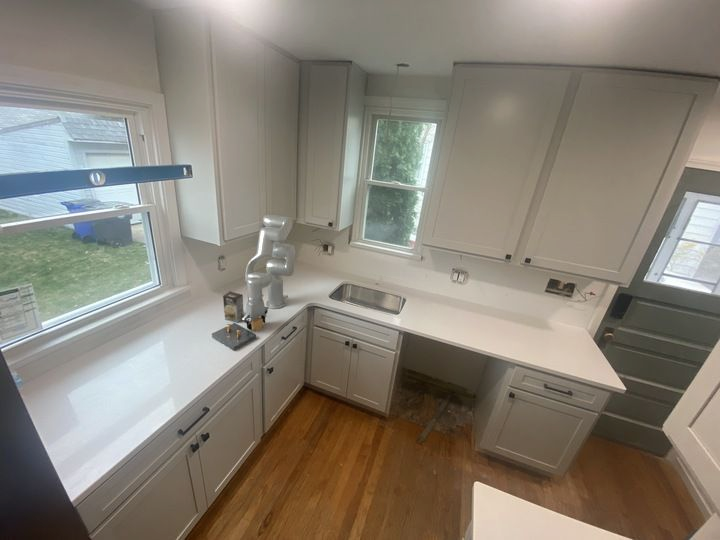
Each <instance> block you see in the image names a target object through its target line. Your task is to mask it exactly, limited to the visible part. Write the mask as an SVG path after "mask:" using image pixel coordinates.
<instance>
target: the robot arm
mask: <svg viewBox="0 0 720 540" xmlns="http://www.w3.org/2000/svg"><path fill="white" fill-rule="evenodd" d="M262 222H263V223H262V224H263V225H264V227H261V228H260V230H259V232H258V233H259V235H258V239H257V240H258V241H257V247H256V253H255V255H254V256H252V257H251V258H250V260H249V261H248V263H247V264H246V266H245V267H246V268H245V275H244V280H245V282H246V285H247V302H246V306H245V314H244V317H243V319H242V320H241V321H243V322H244V323H245V324H246V329H247V330H249V331H252V330H253V329H252V324H251V322H252V320H254V319H256V318H258V317H260V318H262V319H263V324H266V317H267V314H268V311H269V309H274V310H275V309H277V310H278V309H282V308H283V307H285V306H286V303H287V302H286V299H288V298H289V296H288V294H287V295H285V294H284V279H283V277H291V276H293V275H294V272H295V262H296V248H295V246H294V245H292V244H289V243H285V241H286V239H287V237H288V235H289V234H290V232H291V230H292V228H293V220H292V218H291V217H288V216H282V215H277V214H275V215H274V214H265V215H264V216H263V218H262ZM271 257H272V258H275V259H269V258H271ZM266 259H269V260H267V262H266V263H265V270H266V272H265V273H264V272H259V271H254V270H255V267H256V264H257V263H258V262H260V261H262V260H266ZM281 259H282V260H281ZM264 288H267V300H266V302H264V299H263V297H264V294H263V289H264Z"/></svg>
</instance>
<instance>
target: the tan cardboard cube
mask: <svg viewBox="0 0 720 540" xmlns="http://www.w3.org/2000/svg"><path fill="white" fill-rule="evenodd" d="M251 324H252V330H253V331H255V332H256V331H259V330H261V329H262V328H264V323H263V319H262V318H261V316H260V317H258V318H256V319H254V320H252V322H251Z"/></svg>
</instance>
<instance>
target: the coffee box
mask: <svg viewBox="0 0 720 540" xmlns="http://www.w3.org/2000/svg"><path fill="white" fill-rule="evenodd" d="M243 298H244V297H243V294H242V293H238V292H233V291H228V292H227V293H225V294H223V296H222V299H223V311H224V320H226V321H230V322H233V323H236V324H238V323H239V322H241V321H243V320H242V319H243V317H244V316H245V313H244V299H243Z"/></svg>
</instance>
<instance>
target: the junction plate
mask: <svg viewBox="0 0 720 540" xmlns="http://www.w3.org/2000/svg"><path fill="white" fill-rule="evenodd" d="M211 338H212V339H214V340H215V341H217V342H219V343H220V344H222V345H223V344H224V346H225V347H226V348H228V347H229V348H228V349H230V350H232V351H233V350H234V351H236V350H238V349H241V347H243V346H246V345H247V344H248V343H250V342H252V341H254V340H255V339H257V334H256V333H254V332H253V331H252V330H249V329H248V328H245V327H243V326H241V325H239V324H238V323H236V322H233V323H228V324H226V326H224V327H223V328H220V329H219V330H216V331H215V332H213V333H211Z"/></svg>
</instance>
